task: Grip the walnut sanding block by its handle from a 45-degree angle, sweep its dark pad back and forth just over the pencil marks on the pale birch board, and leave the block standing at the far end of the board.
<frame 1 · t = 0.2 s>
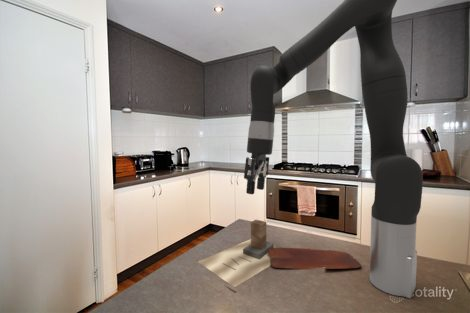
hand: (255, 191, 68), 22 cm above the counter, tool pointing down, fingers open, 8 cm apart
wooden tablet: (312, 261, 68), point 1 cm above the counter, touching birch board
sanding block: (258, 250, 73), point 1 cm above the counter, touching birch board
birch board: (245, 262, 69), on the counter
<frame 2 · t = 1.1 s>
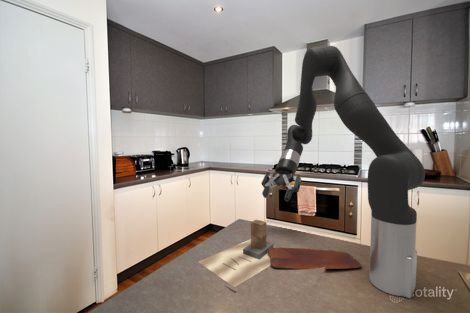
hand: (274, 198, 81), 16 cm above the counter, tool tilted 45°, fingers open, 8 cm apart
nothing on the counter moved.
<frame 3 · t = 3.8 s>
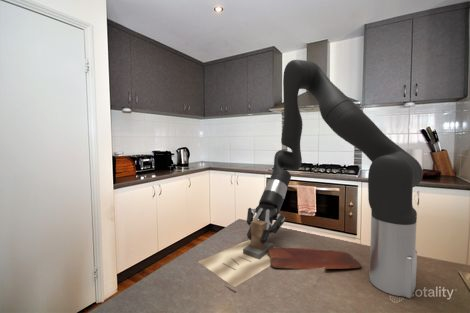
hand: (255, 240, 71), 6 cm above the counter, tool tilted 45°, fingers closed on sanding block, 4 cm apart
sanding block: (258, 250, 73), point 2 cm above the counter, touching birch board, gripper
everything else where it was.
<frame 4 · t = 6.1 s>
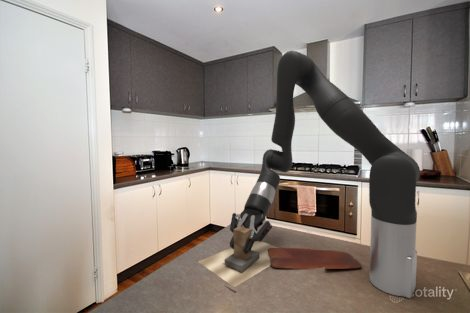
hand: (238, 250, 64), 6 cm above the counter, tool tilted 45°, fingers closed on sanding block, 4 cm apart
sanding block: (242, 261, 66), point 2 cm above the counter, touching gripper
everything else where it was.
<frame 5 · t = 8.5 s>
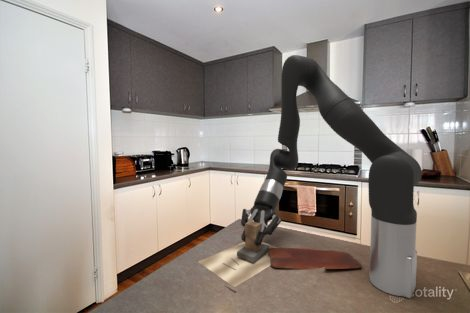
hand: (249, 242, 69), 6 cm above the counter, tool tilted 45°, fingers closed on sanding block, 4 cm apart
sanding block: (253, 253, 70), point 2 cm above the counter, touching gripper
everything else where it was.
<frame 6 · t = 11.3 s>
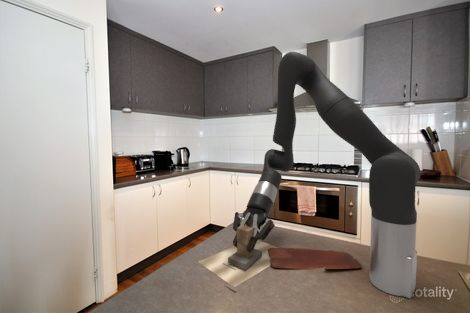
hand: (241, 248, 65), 6 cm above the counter, tool tilted 45°, fingers closed on sanding block, 4 cm apart
sanding block: (245, 259, 67), point 2 cm above the counter, touching gripper
everything else where it was.
when the fingers open (6 cm above the counter, at t = 13.6 s): sanding block stays where it is, resting on birch board.
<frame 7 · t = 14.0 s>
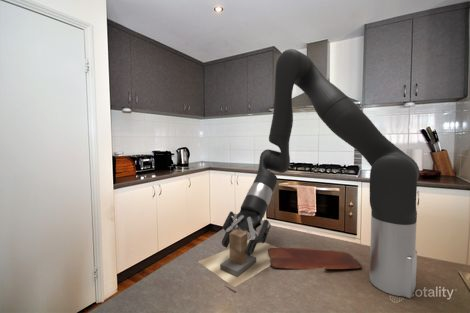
hand: (235, 250, 63), 7 cm above the counter, tool tilted 45°, fingers open, 7 cm apart
sanding block: (238, 265, 64), point 2 cm above the counter, touching birch board
everything else where it was.
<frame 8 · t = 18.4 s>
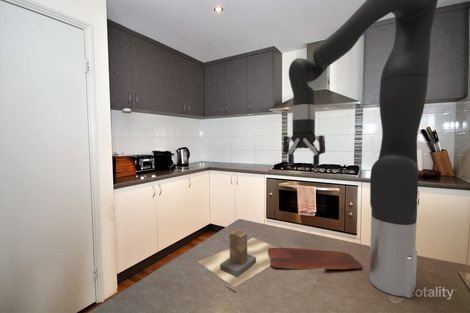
hand: (303, 165, 80), 28 cm above the counter, tool pointing down, fingers open, 8 cm apart
nothing on the counter moved.
at the end: sanding block inside the target area (1.3 cm from its centre), point 1.5 cm above the counter; sanding block tilted 0°; the gripper is holding nothing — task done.
